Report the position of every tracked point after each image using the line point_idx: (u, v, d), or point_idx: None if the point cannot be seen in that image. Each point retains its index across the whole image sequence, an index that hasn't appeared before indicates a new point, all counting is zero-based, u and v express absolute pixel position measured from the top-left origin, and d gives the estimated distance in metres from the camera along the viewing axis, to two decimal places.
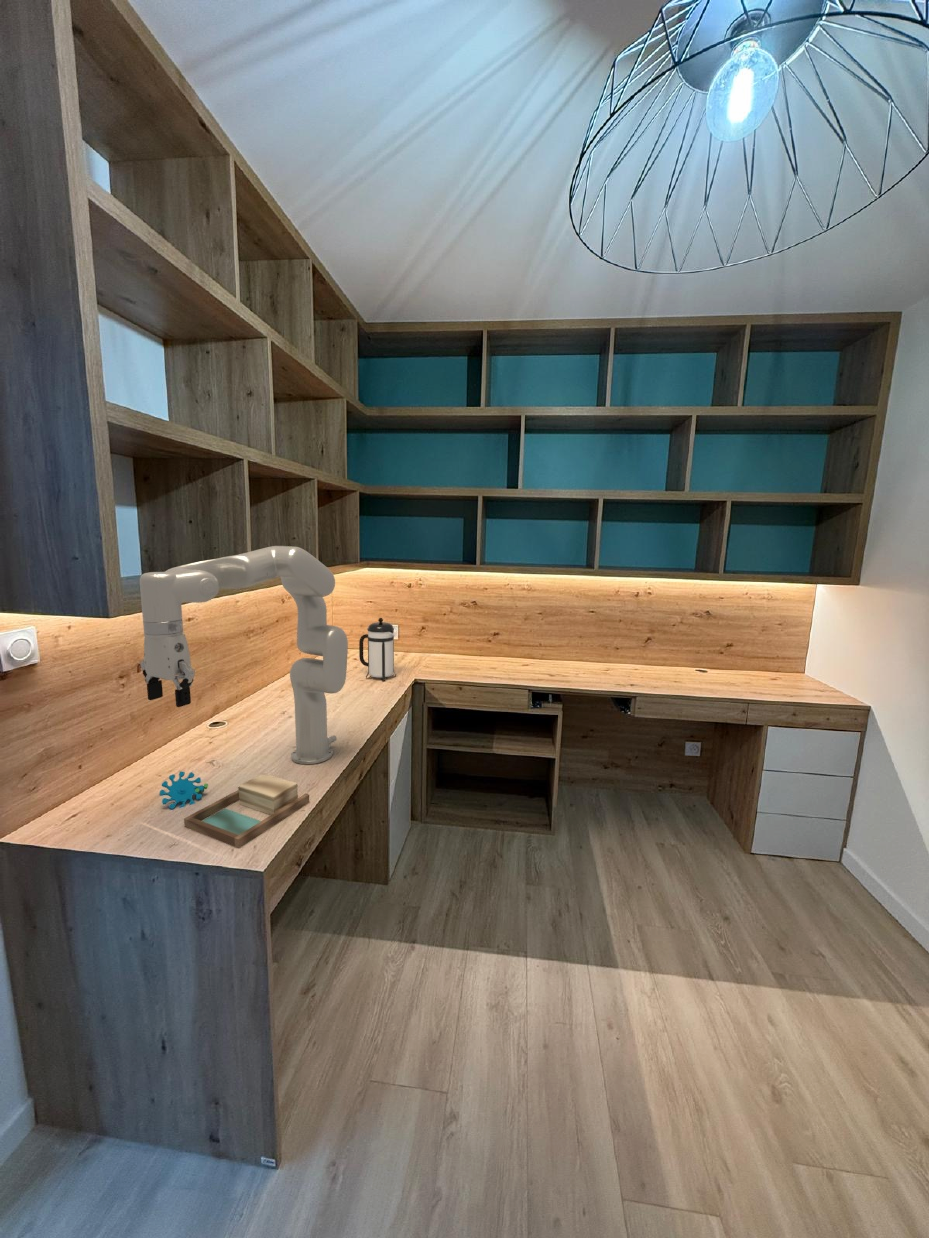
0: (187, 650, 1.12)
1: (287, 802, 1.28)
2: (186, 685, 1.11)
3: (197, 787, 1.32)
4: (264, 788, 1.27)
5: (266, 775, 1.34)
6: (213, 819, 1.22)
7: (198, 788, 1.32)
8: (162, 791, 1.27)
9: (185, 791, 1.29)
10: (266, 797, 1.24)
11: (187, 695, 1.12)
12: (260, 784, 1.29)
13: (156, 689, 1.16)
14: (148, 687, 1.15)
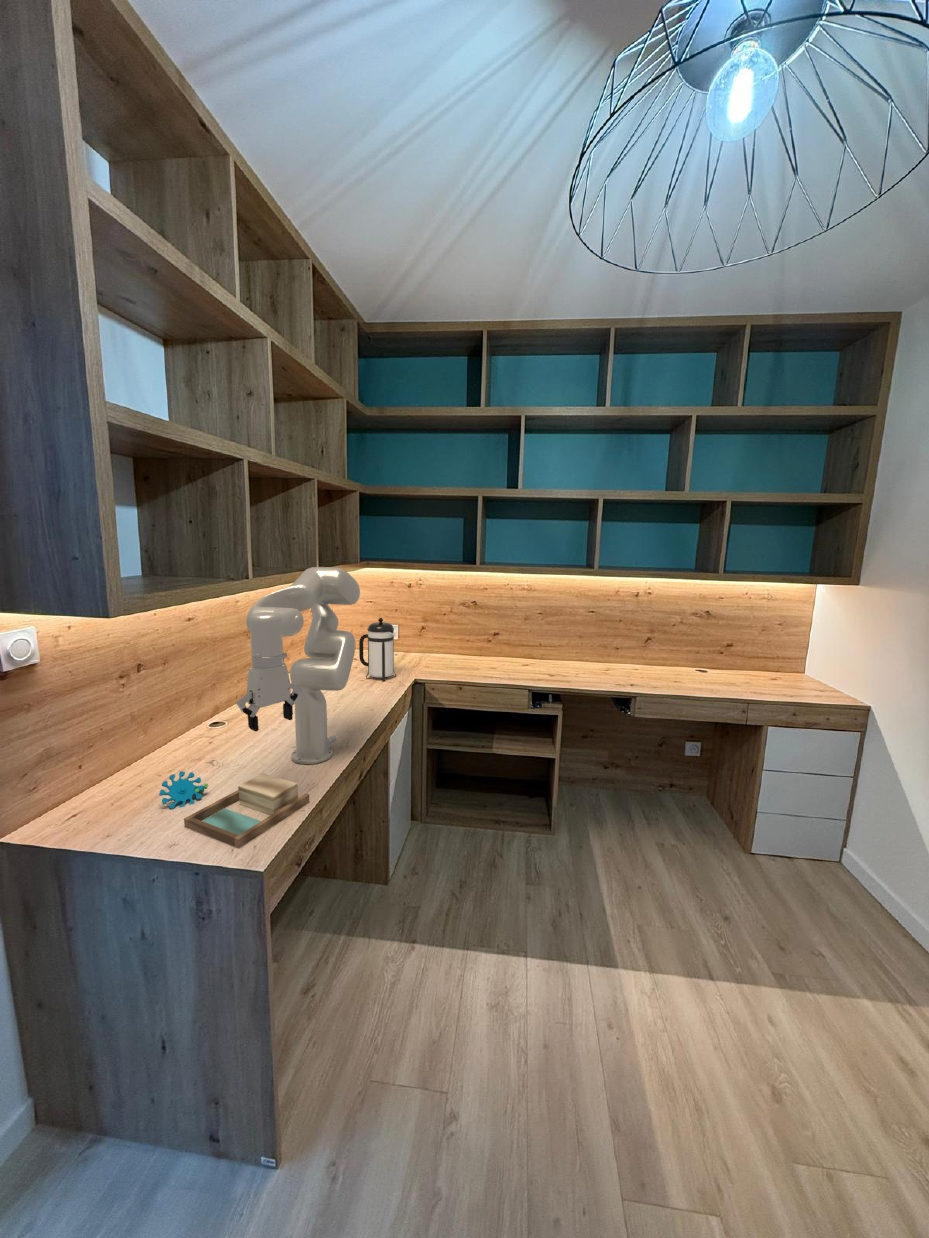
0: None
1: (287, 802, 1.28)
2: None
3: (197, 787, 1.32)
4: (264, 788, 1.27)
5: (266, 775, 1.34)
6: (213, 819, 1.22)
7: (198, 788, 1.32)
8: (162, 791, 1.27)
9: (185, 791, 1.30)
10: (266, 797, 1.24)
11: None
12: (260, 784, 1.29)
13: None
14: (257, 719, 1.26)
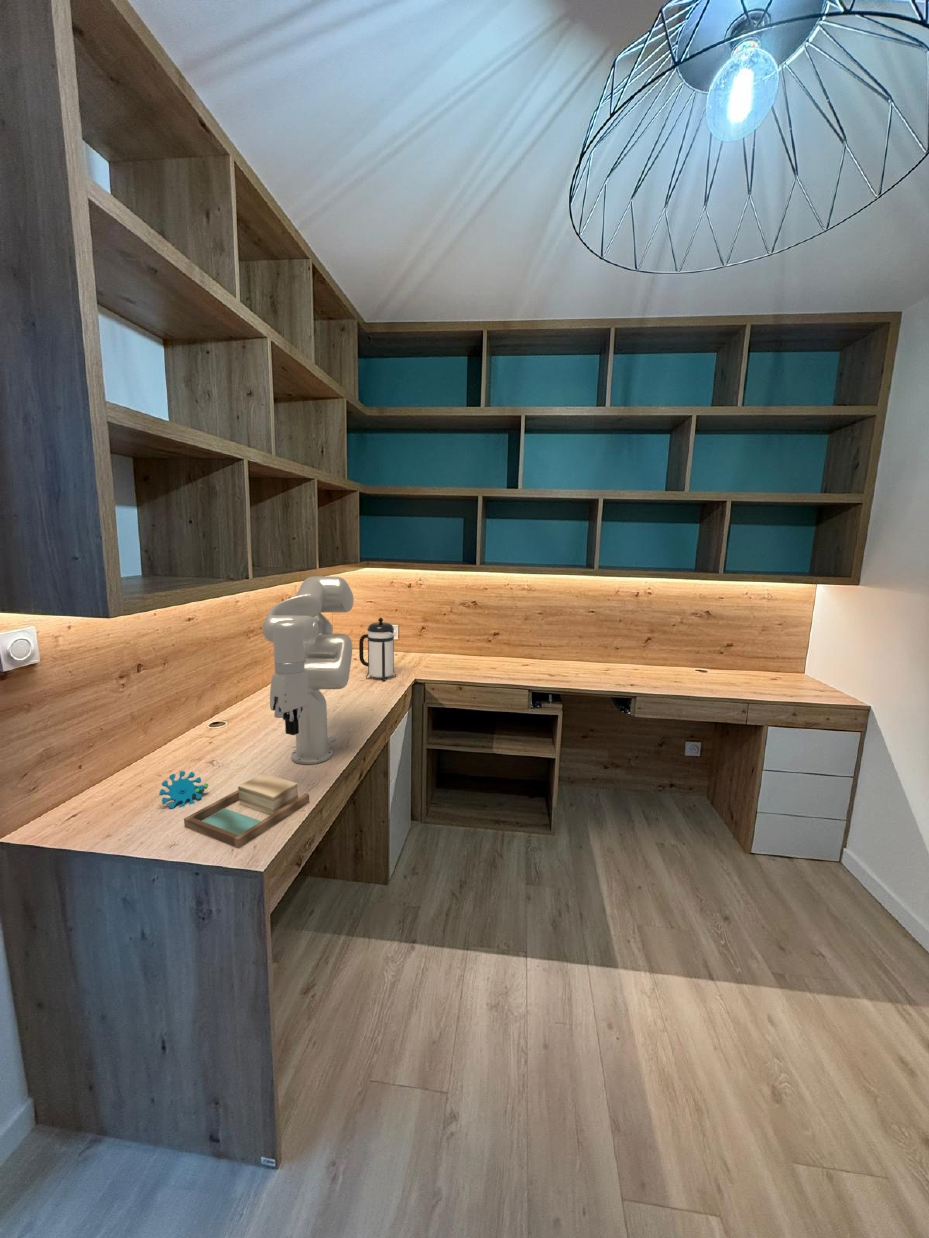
0: None
1: (287, 802, 1.28)
2: None
3: (197, 787, 1.32)
4: (264, 788, 1.27)
5: (266, 775, 1.34)
6: (213, 819, 1.22)
7: (198, 788, 1.32)
8: (162, 790, 1.27)
9: (185, 791, 1.30)
10: (266, 797, 1.24)
11: None
12: (260, 784, 1.29)
13: None
14: (295, 723, 1.34)
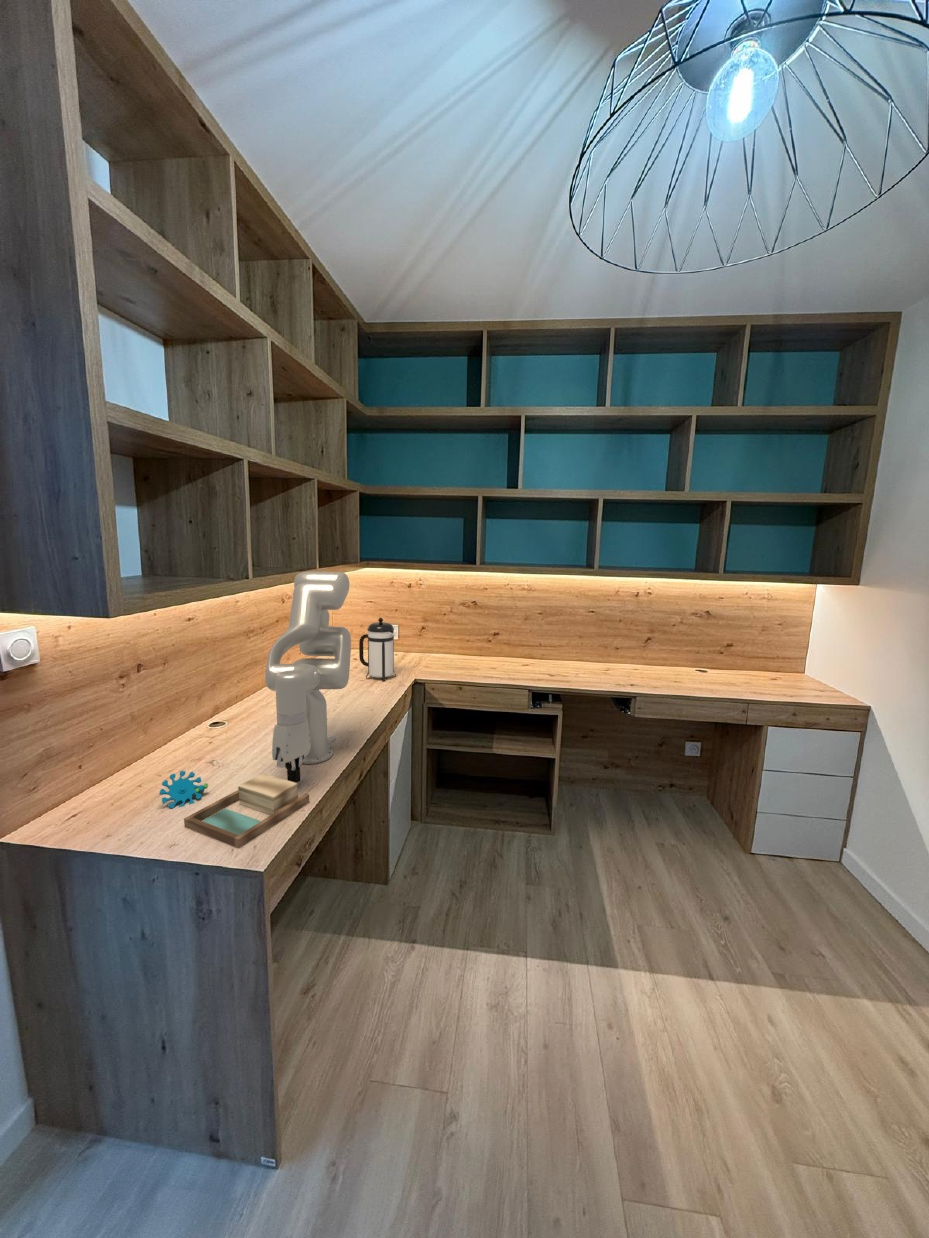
0: None
1: (287, 802, 1.28)
2: None
3: (197, 787, 1.32)
4: (264, 788, 1.27)
5: (266, 775, 1.34)
6: (213, 819, 1.22)
7: (198, 788, 1.32)
8: (162, 790, 1.28)
9: (185, 790, 1.30)
10: (266, 797, 1.24)
11: None
12: (260, 784, 1.29)
13: None
14: (297, 772, 1.36)
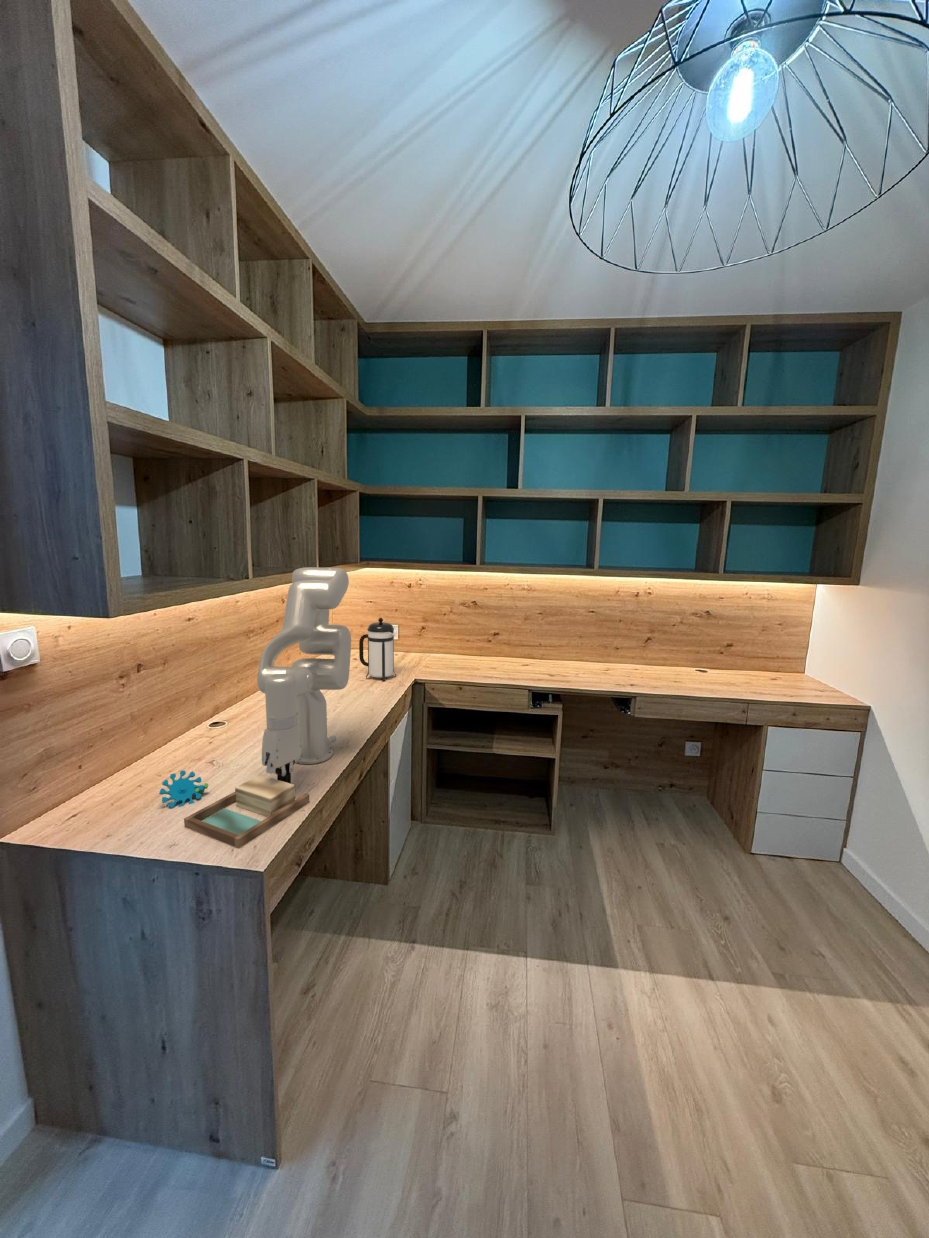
0: None
1: (284, 804, 1.27)
2: None
3: (197, 787, 1.32)
4: (261, 790, 1.26)
5: (263, 776, 1.33)
6: (213, 819, 1.22)
7: (198, 788, 1.32)
8: (162, 790, 1.28)
9: (185, 790, 1.30)
10: (263, 799, 1.23)
11: None
12: (257, 786, 1.28)
13: None
14: (287, 777, 1.33)
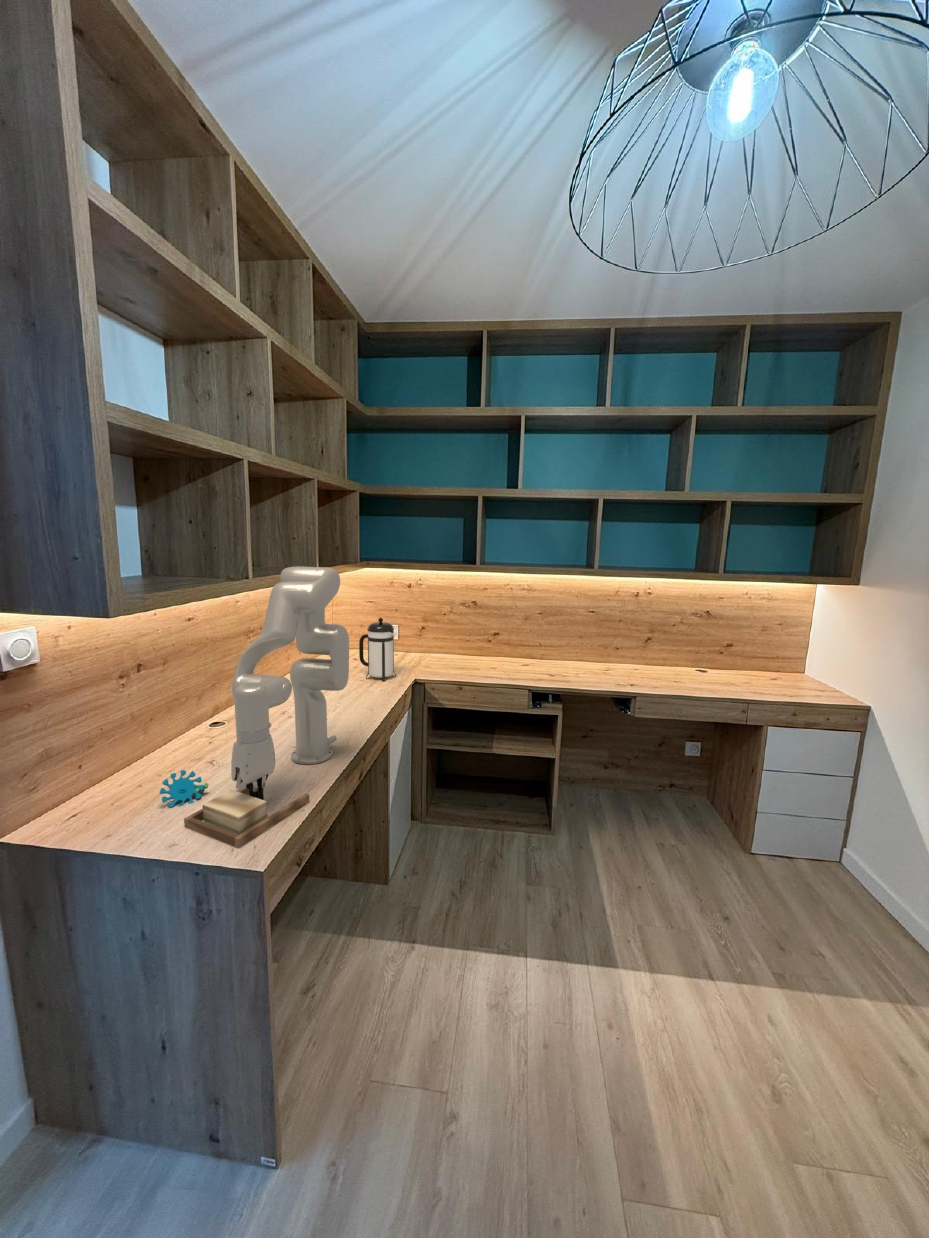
0: None
1: (255, 822, 1.19)
2: None
3: (197, 786, 1.32)
4: (230, 807, 1.18)
5: (234, 792, 1.25)
6: None
7: (198, 787, 1.32)
8: (162, 789, 1.28)
9: (185, 790, 1.30)
10: (232, 817, 1.15)
11: None
12: (226, 802, 1.20)
13: None
14: (259, 793, 1.25)
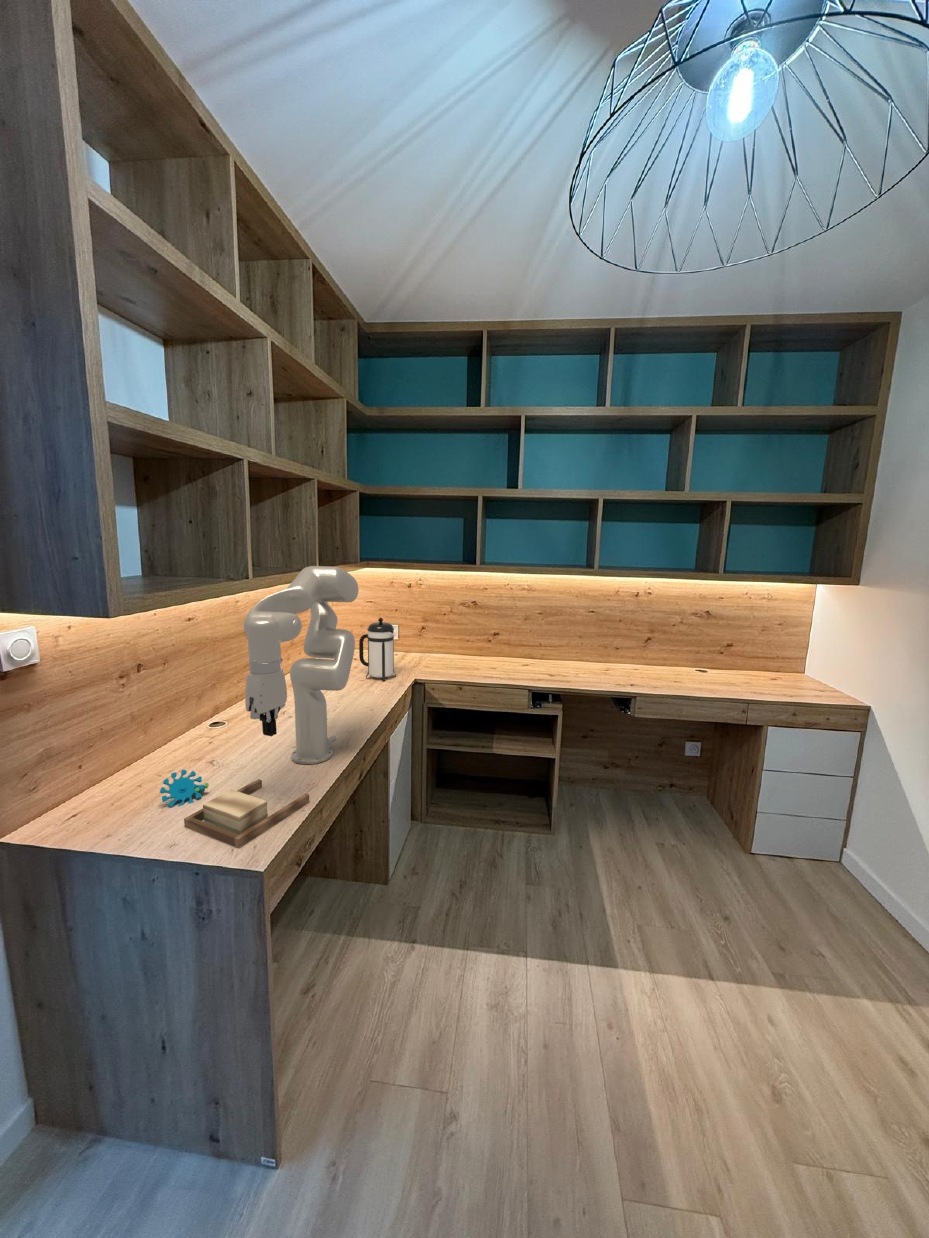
0: None
1: (255, 822, 1.19)
2: None
3: (197, 786, 1.32)
4: (230, 807, 1.18)
5: (234, 792, 1.25)
6: None
7: (198, 787, 1.32)
8: (162, 788, 1.28)
9: (185, 790, 1.30)
10: (232, 817, 1.15)
11: None
12: (227, 802, 1.20)
13: None
14: (272, 724, 1.29)
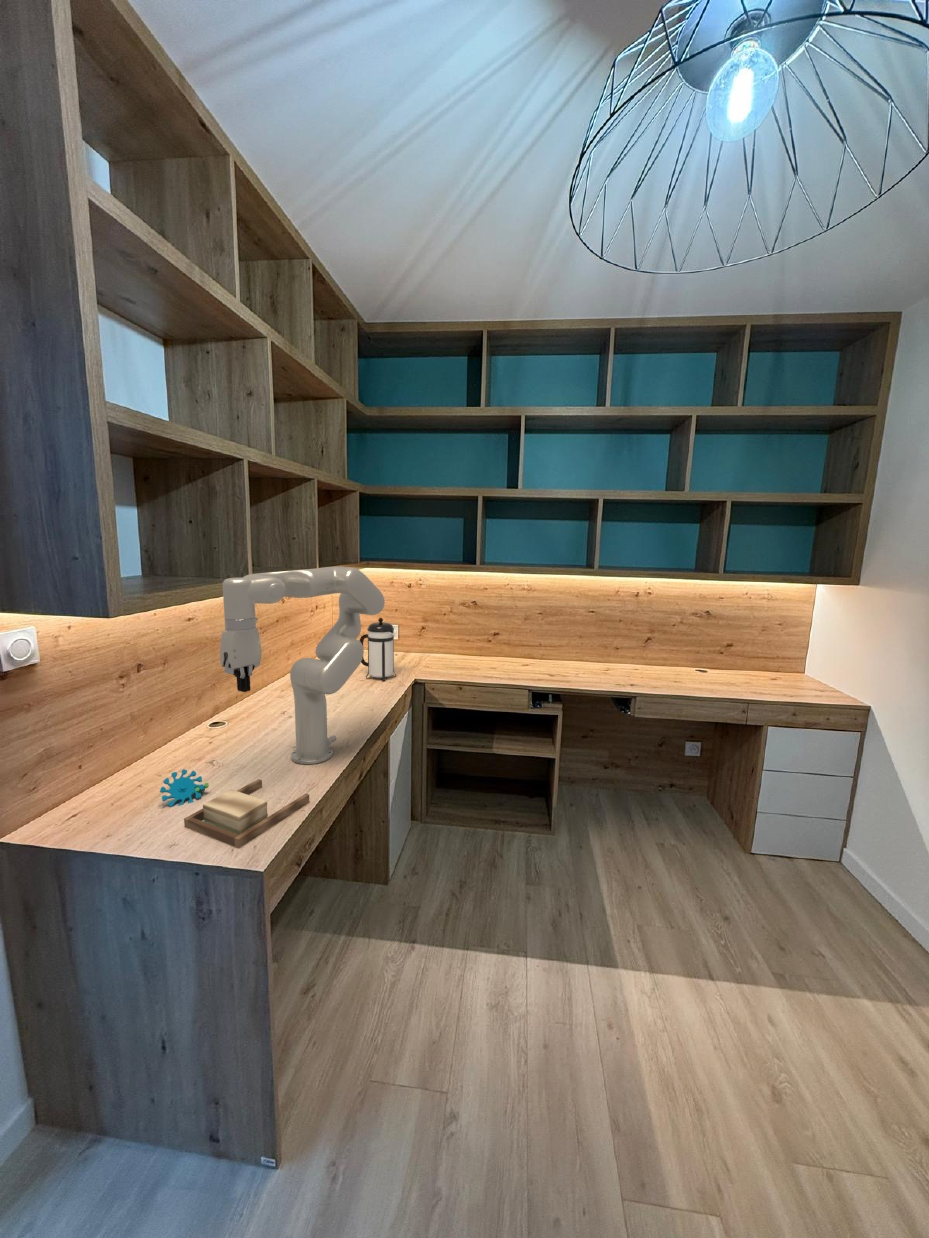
0: None
1: (255, 822, 1.19)
2: None
3: (197, 786, 1.32)
4: (230, 807, 1.18)
5: (234, 792, 1.25)
6: None
7: (198, 787, 1.32)
8: (163, 788, 1.29)
9: (185, 789, 1.30)
10: (232, 817, 1.15)
11: None
12: (227, 802, 1.20)
13: None
14: (246, 680, 1.36)
